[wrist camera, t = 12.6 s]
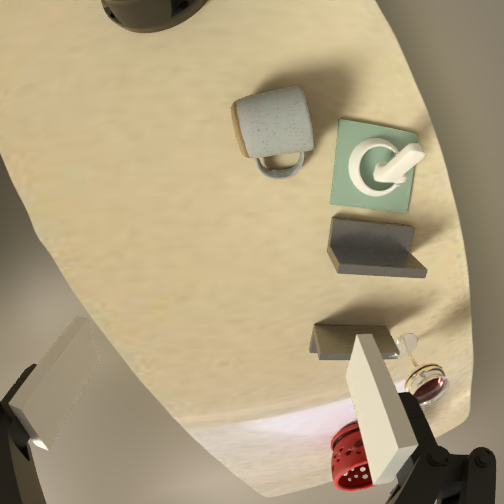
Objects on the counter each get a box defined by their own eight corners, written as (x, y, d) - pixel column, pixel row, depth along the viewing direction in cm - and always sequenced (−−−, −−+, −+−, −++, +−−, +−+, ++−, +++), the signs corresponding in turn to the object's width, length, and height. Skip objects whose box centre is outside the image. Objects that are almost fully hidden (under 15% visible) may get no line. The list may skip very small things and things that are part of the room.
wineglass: (381, 360, 49) (402, 410, 38) (393, 329, 47) (420, 377, 36) (414, 359, 49) (438, 406, 38) (427, 329, 47) (457, 373, 36)
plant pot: (387, 438, 58) (399, 478, 47) (332, 454, 60) (339, 496, 49) (383, 407, 54) (398, 453, 43) (321, 426, 56) (328, 474, 45)
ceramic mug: (231, 103, 36) (224, 97, 29) (297, 89, 35) (305, 80, 28) (252, 183, 40) (250, 196, 33) (315, 169, 39) (327, 179, 32)
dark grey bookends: (331, 217, 41) (344, 233, 34) (411, 225, 41) (434, 242, 34) (309, 348, 48) (314, 378, 42) (378, 349, 48) (390, 376, 42)
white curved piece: (428, 106, 29) (451, 158, 28) (384, 155, 41) (399, 200, 39) (376, 98, 28) (399, 155, 27) (338, 154, 40) (351, 202, 38)
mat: (338, 119, 36) (339, 119, 35) (415, 133, 36) (417, 134, 35) (330, 203, 40) (330, 204, 39) (404, 212, 40) (406, 213, 39)
